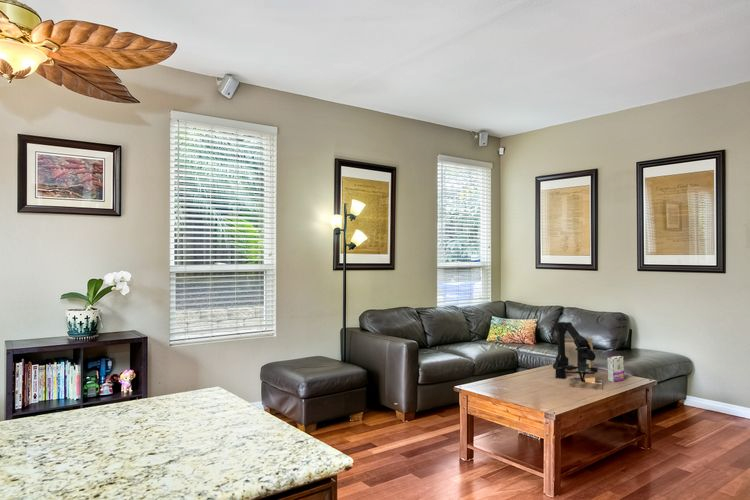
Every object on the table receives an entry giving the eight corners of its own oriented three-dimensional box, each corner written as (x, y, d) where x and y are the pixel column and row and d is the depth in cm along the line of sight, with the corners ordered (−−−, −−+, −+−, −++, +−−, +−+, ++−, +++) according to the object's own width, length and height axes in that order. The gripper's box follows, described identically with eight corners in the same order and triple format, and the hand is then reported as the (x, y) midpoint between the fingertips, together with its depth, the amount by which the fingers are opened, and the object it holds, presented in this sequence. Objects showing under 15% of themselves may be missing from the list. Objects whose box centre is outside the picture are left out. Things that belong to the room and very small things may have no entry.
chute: (569, 386, 334) (568, 380, 334) (569, 383, 343) (569, 376, 343) (602, 389, 326) (601, 382, 326) (601, 385, 335) (601, 379, 335)
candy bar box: (618, 378, 353) (617, 355, 353) (624, 380, 349) (624, 356, 349) (607, 380, 348) (606, 357, 348) (613, 382, 344) (613, 358, 344)
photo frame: (594, 373, 368) (593, 339, 369) (563, 372, 373) (562, 339, 374) (590, 369, 383) (589, 336, 384) (560, 368, 388) (559, 336, 389)
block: (585, 385, 332) (585, 378, 332) (585, 383, 337) (585, 376, 337) (595, 386, 329) (595, 378, 329) (595, 384, 335) (595, 376, 335)
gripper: (566, 359, 332) (566, 382, 332) (597, 361, 324) (597, 385, 324) (567, 356, 342) (567, 379, 342) (597, 358, 334) (597, 381, 334)
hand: (582, 381), depth 335 cm, fingers closed
